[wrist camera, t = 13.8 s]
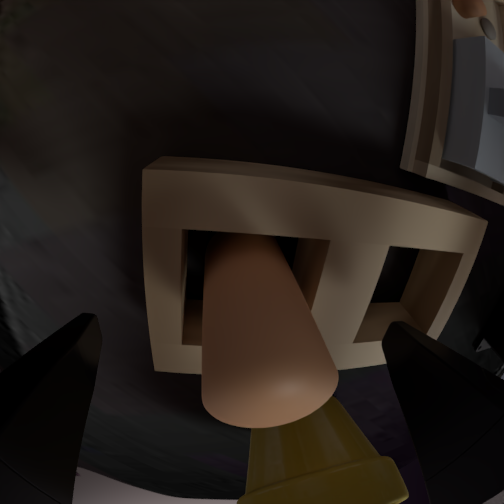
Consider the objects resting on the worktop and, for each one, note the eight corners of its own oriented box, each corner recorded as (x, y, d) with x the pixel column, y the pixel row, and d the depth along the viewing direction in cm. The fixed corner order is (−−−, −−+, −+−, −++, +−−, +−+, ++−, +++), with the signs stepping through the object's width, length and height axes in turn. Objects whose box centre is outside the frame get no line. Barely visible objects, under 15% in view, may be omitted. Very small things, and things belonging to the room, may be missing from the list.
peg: (285, 225, 12) (358, 345, 6) (273, 290, 13) (316, 422, 7) (208, 219, 11) (202, 348, 5) (203, 287, 13) (201, 428, 6)
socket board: (449, 200, 12) (488, 221, 10) (403, 324, 16) (427, 355, 13) (161, 156, 10) (142, 169, 7) (162, 325, 13) (154, 370, 11)
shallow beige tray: (499, 8, 6) (520, 6, 5) (489, 198, 12) (511, 209, 11) (410, -59, 5) (430, -70, 3) (399, 167, 11) (426, 178, 9)
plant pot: (340, 433, 21) (371, 519, 13) (228, 448, 20) (240, 547, 11) (379, 362, 17) (441, 478, 8) (225, 380, 16) (242, 538, 7)
